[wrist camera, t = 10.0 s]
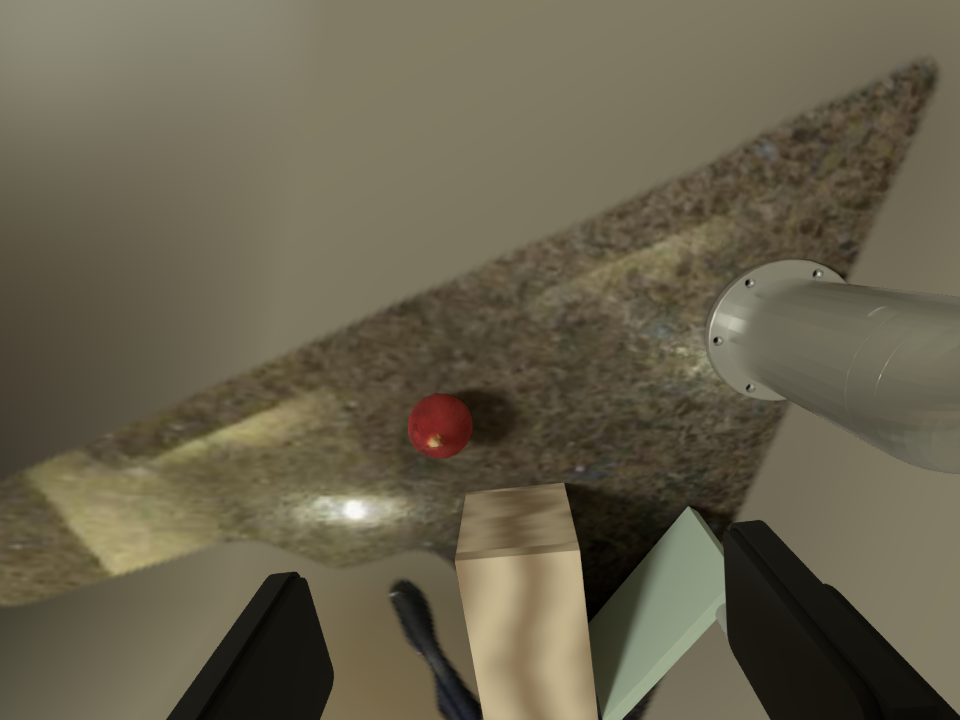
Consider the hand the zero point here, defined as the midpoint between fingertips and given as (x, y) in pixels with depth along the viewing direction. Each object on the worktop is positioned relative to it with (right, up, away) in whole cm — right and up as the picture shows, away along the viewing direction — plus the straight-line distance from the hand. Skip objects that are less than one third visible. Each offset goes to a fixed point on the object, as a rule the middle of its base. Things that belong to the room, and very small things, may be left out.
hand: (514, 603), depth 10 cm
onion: (-4, 0, +35) cm, 35 cm away
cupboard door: (+17, -17, +38) cm, 45 cm away
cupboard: (+4, -16, +38) cm, 42 cm away
